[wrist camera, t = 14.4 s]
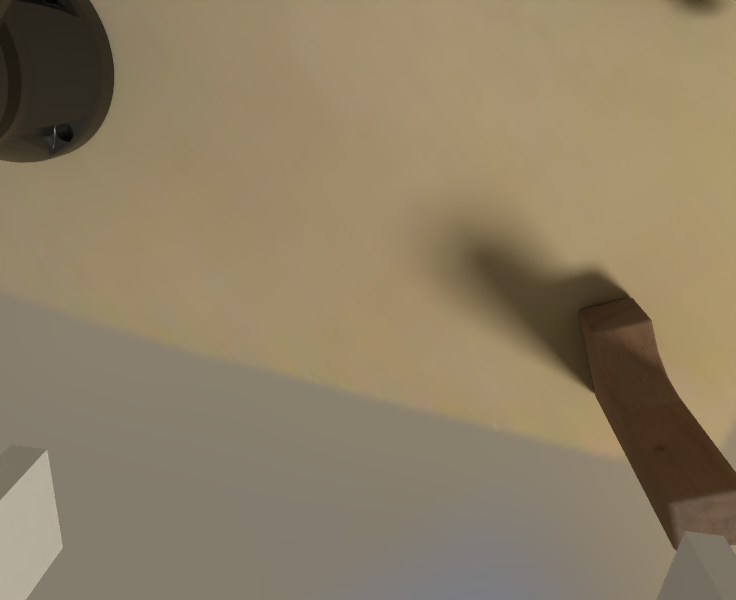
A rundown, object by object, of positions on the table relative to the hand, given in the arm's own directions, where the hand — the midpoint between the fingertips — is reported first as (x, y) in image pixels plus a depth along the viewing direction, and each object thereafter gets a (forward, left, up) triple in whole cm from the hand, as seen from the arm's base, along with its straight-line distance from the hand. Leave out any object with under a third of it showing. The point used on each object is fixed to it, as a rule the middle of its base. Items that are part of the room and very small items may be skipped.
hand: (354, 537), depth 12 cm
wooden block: (+20, -12, -37) cm, 44 cm away
